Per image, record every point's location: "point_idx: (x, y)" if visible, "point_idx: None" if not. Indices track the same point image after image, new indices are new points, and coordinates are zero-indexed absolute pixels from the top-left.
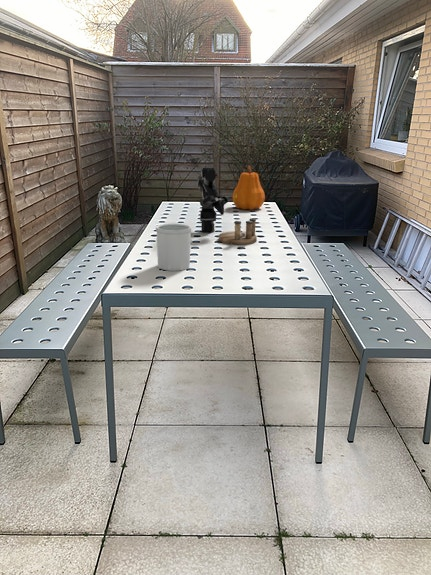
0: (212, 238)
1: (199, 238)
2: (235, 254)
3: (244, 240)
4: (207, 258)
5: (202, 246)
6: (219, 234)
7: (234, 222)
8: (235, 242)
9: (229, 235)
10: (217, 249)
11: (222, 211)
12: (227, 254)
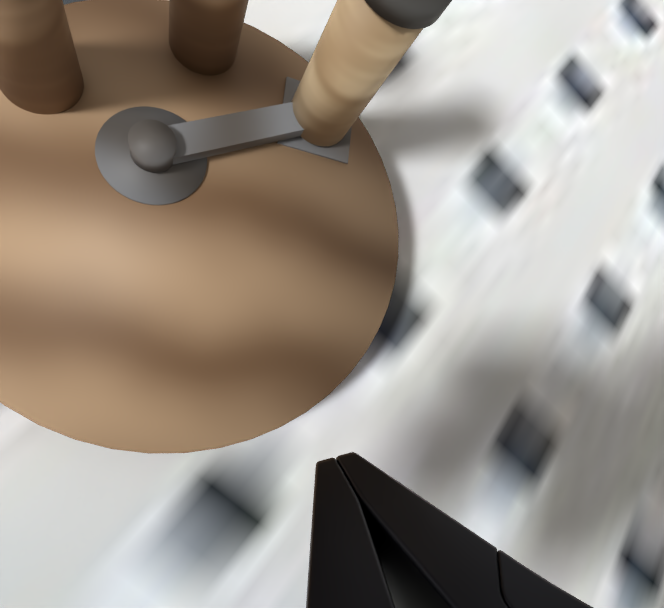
0: None
1: None
2: (501, 3)
3: (286, 51)
4: (648, 91)
5: (554, 297)
6: (323, 395)
7: (439, 15)
8: None
9: (268, 280)
10: (520, 162)
11: (388, 483)
12: (536, 44)
